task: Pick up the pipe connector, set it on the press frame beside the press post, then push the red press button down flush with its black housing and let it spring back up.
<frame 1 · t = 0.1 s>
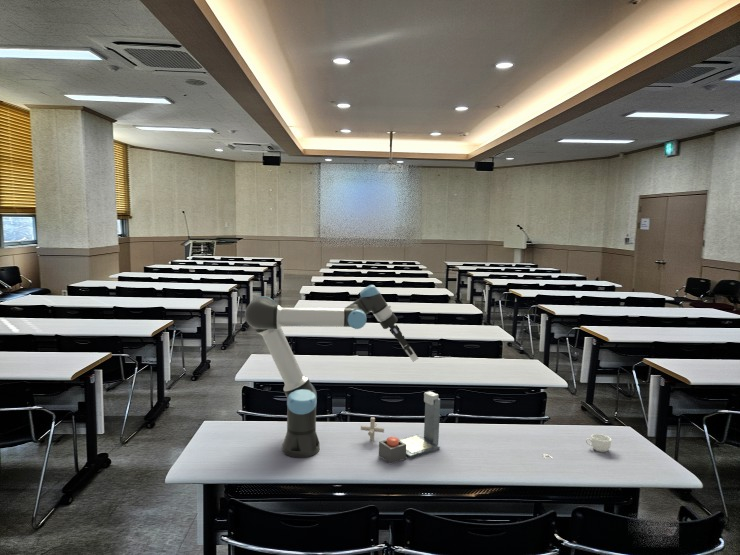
hand: (412, 356, 214), 36 cm above the table, tool tilted 35°, fingers open, 13 cm apart
button housing: (392, 457, 195), on the table
press frame: (413, 447, 204), on the table
paper: (550, 453, 204), on the table
press button: (392, 443, 194), point 6 cm above the table, slide at 0.0 cm
teacup: (597, 449, 208), on the table
pipe connector: (372, 440, 210), on the table
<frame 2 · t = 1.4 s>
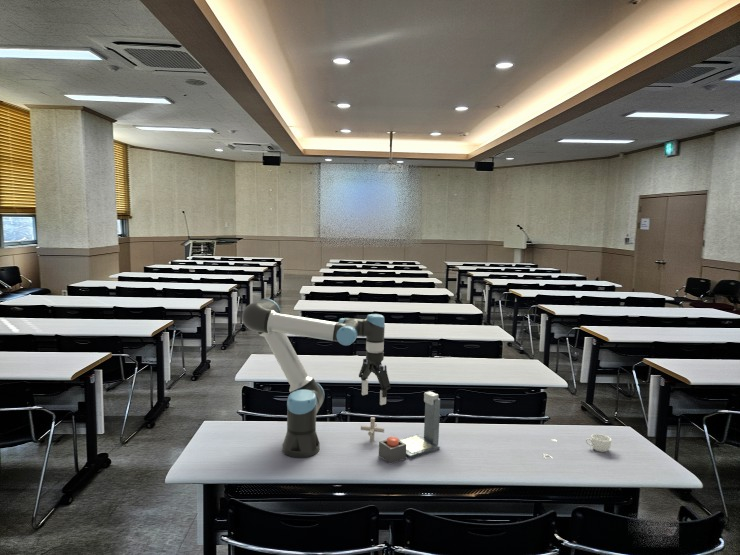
hand: (373, 399, 208), 18 cm above the table, tool pointing down, fingers open, 13 cm apart
nothing on the table moved.
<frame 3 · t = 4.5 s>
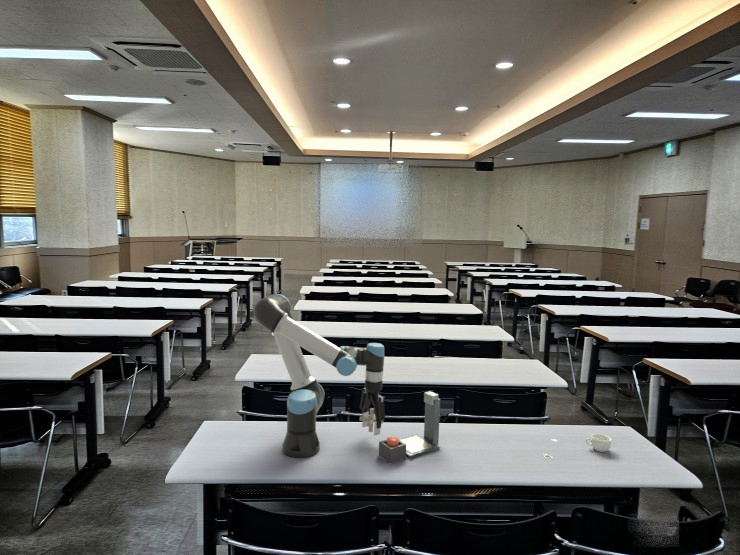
hand: (370, 430, 210), 4 cm above the table, tool pointing down, fingers closed on pipe connector, 8 cm apart
pipe connector: (370, 431, 210), point 4 cm above the table, touching gripper
everything else where it was.
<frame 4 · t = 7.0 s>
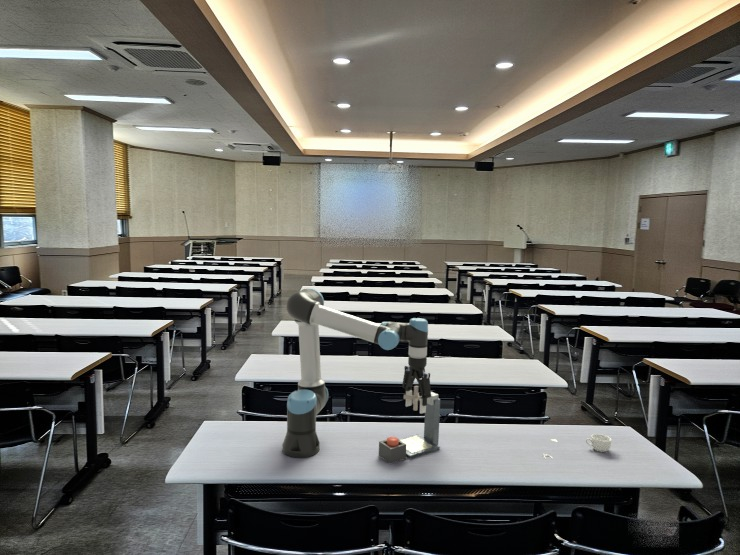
hand: (415, 409, 202), 17 cm above the table, tool pointing down, fingers closed on pipe connector, 8 cm apart
pipe connector: (415, 410, 202), point 16 cm above the table, touching gripper
everything else where it was.
when the fingers open (2 cm above the table, at t = 10.1 s): pipe connector stays where it is, resting on press frame.
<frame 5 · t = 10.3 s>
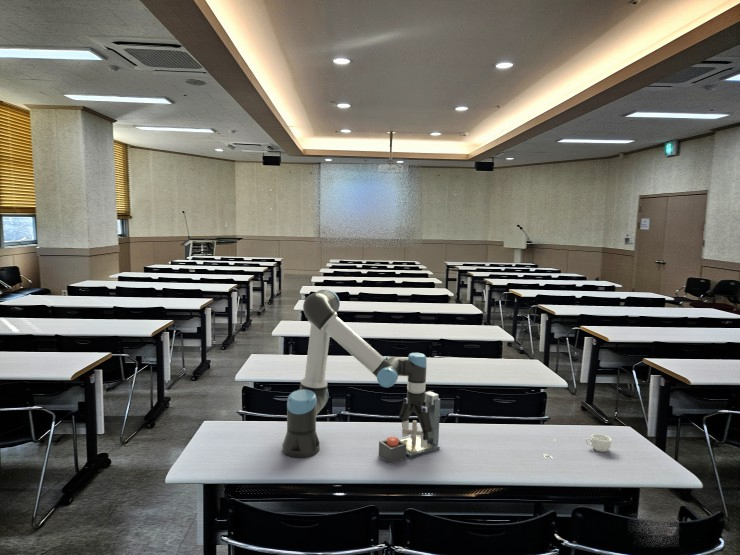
hand: (414, 441, 204), 3 cm above the table, tool pointing down, fingers open, 11 cm apart
pipe connector: (413, 444, 204), point 1 cm above the table, touching press frame
everything else where it was.
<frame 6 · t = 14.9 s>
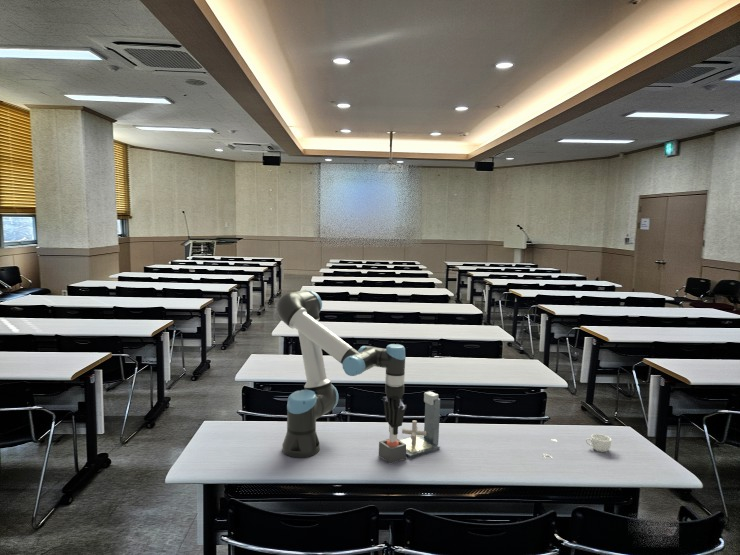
hand: (393, 441, 194), 7 cm above the table, tool pointing down, fingers closed
press button: (392, 445, 195), point 5 cm above the table, slide at -1.0 cm, touching gripper
everything else where it was.
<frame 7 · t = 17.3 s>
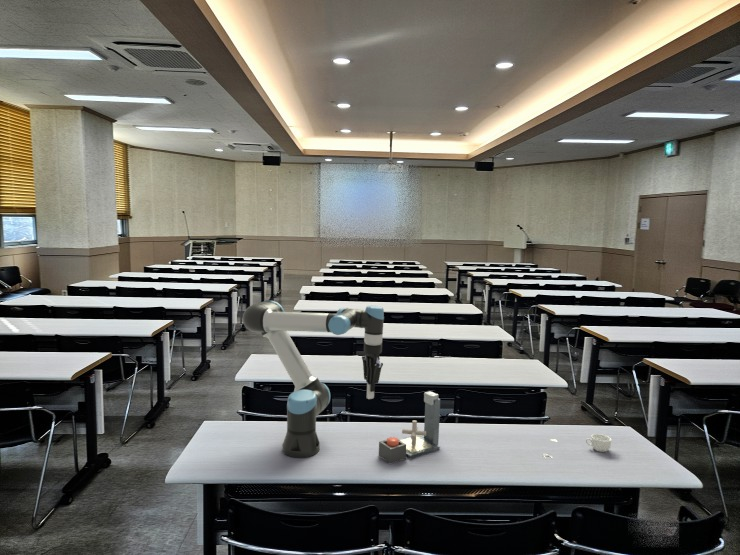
hand: (370, 398, 204), 20 cm above the table, tool pointing down, fingers closed
press button: (392, 443, 194), point 6 cm above the table, slide at -0.2 cm
everything else where it was.
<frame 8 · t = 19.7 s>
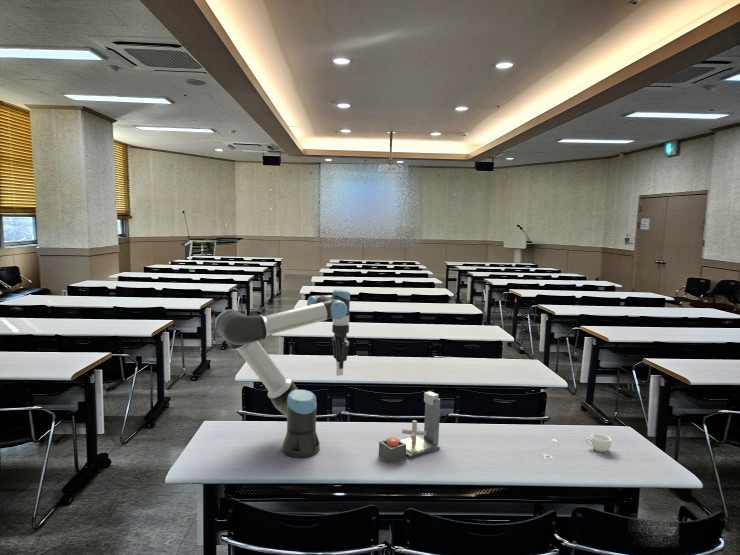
hand: (339, 374, 221), 24 cm above the table, tool pointing down, fingers closed
nothing on the table moved.
at the end: pipe connector 0.1 cm off-centre on the press frame, point 1.5 cm above the press frame's base; pipe connector tilted 0°; press button slide at -0.2 cm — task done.
